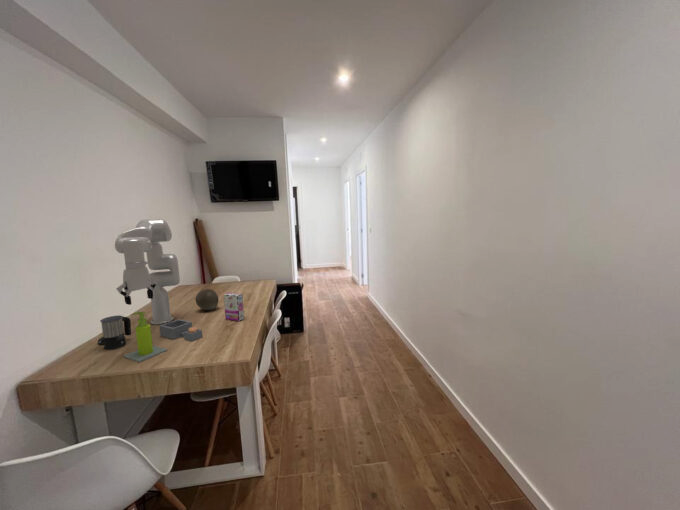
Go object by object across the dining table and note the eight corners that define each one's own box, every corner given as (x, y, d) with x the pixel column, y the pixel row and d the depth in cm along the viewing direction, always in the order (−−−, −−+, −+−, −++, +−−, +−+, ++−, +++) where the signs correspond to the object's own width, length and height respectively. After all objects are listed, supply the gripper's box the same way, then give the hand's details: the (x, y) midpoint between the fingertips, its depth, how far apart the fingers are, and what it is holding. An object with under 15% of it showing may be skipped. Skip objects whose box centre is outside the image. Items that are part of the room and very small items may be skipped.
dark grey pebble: (212, 306, 216) (210, 286, 214) (223, 309, 208) (221, 288, 206) (193, 311, 205) (191, 290, 203) (204, 315, 197) (202, 293, 195)
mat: (123, 356, 139) (123, 355, 139) (151, 345, 150) (151, 344, 150) (139, 362, 133) (139, 361, 133) (167, 350, 144) (167, 349, 144)
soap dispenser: (140, 350, 144) (135, 310, 141) (155, 349, 144) (151, 310, 142) (133, 356, 138) (128, 314, 135) (149, 354, 139) (144, 313, 136)
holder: (160, 336, 162) (159, 325, 162) (179, 329, 172) (178, 319, 172) (187, 343, 152) (186, 332, 151) (206, 335, 162) (205, 324, 161)
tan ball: (187, 334, 157) (186, 328, 157) (193, 331, 161) (193, 326, 161) (192, 335, 156) (191, 330, 155) (198, 332, 159) (198, 327, 159)
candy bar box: (244, 319, 187) (243, 293, 185) (239, 321, 182) (237, 295, 180) (230, 317, 191) (229, 292, 189) (225, 319, 187) (223, 294, 185)
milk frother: (119, 349, 147) (115, 320, 145) (84, 352, 145) (80, 323, 143) (135, 338, 161) (132, 311, 159) (103, 340, 159) (100, 313, 157)
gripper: (149, 261, 145) (153, 295, 148) (109, 268, 130) (114, 305, 133) (159, 262, 142) (162, 297, 144) (119, 269, 127) (124, 307, 129)
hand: (139, 301), depth 139 cm, fingers open, 9 cm apart
